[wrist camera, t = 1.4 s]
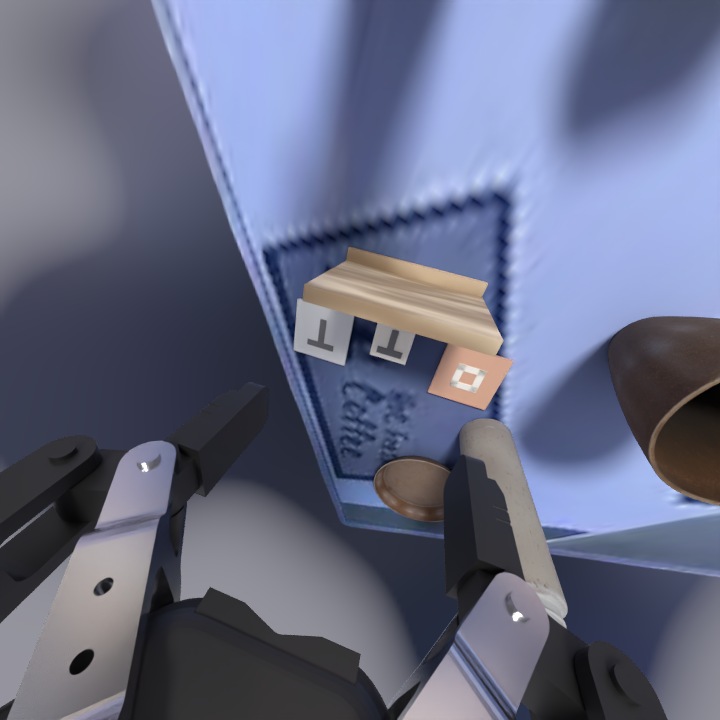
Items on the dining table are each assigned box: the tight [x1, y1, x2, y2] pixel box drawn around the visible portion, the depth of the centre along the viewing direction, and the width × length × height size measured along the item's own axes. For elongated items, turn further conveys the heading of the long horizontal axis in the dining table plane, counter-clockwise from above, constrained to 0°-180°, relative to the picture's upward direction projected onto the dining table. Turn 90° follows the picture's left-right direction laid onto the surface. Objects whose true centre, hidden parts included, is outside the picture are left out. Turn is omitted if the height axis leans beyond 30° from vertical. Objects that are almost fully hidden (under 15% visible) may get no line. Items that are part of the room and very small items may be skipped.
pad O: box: [428, 343, 513, 410], centre depth 40 cm, size 9×9×1 cm
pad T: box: [294, 298, 355, 366], centre depth 42 cm, size 9×9×1 cm
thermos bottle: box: [459, 418, 567, 628], centre depth 33 cm, size 8×8×28 cm
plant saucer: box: [374, 456, 451, 522], centre depth 53 cm, size 18×18×3 cm
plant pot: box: [608, 316, 720, 506], centre depth 26 cm, size 15×15×16 cm
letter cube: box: [370, 323, 415, 365], centre depth 37 cm, size 5×5×5 cm
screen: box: [303, 247, 503, 357], centre depth 30 cm, size 5×18×14 cm, turn 78°
